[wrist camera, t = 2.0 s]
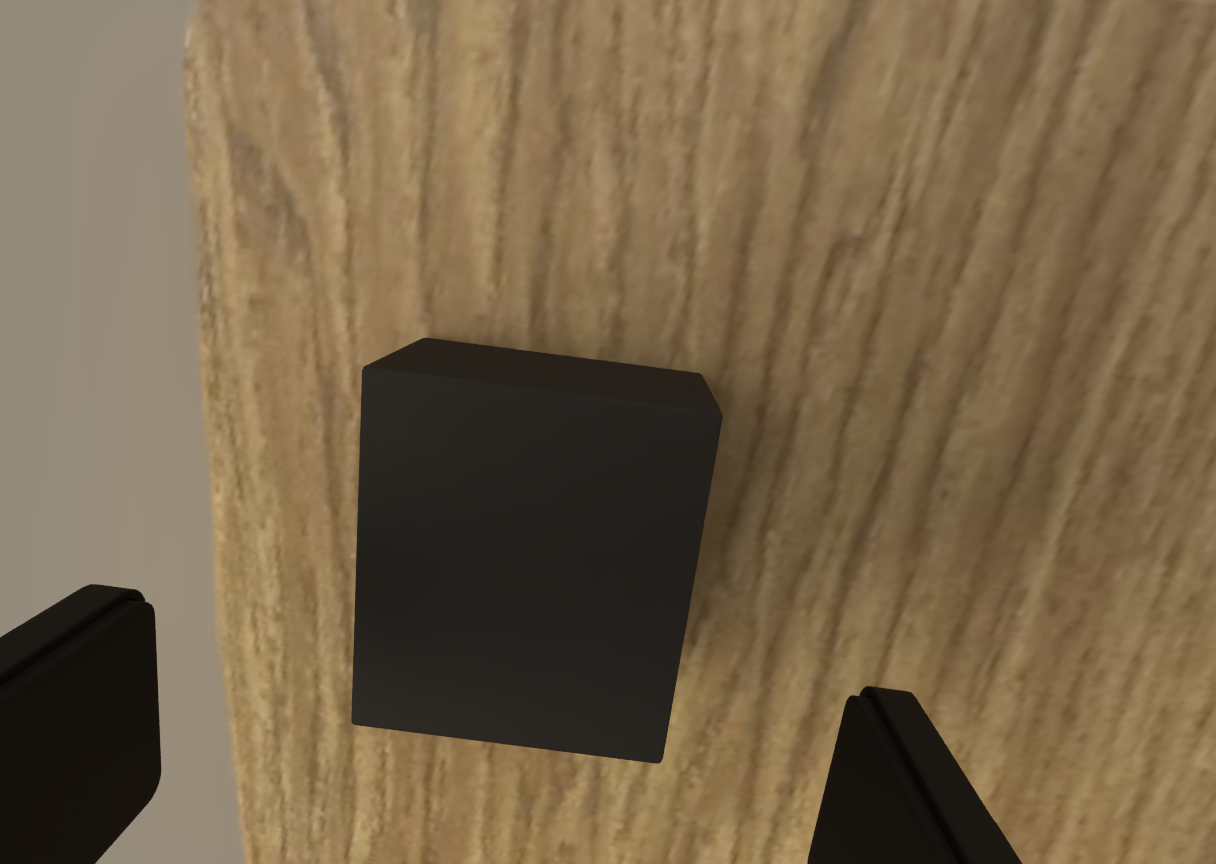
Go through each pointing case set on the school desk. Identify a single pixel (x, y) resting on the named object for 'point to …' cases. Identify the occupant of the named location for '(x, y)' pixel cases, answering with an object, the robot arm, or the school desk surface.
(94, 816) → the robot arm
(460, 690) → the black block
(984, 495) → the school desk surface
